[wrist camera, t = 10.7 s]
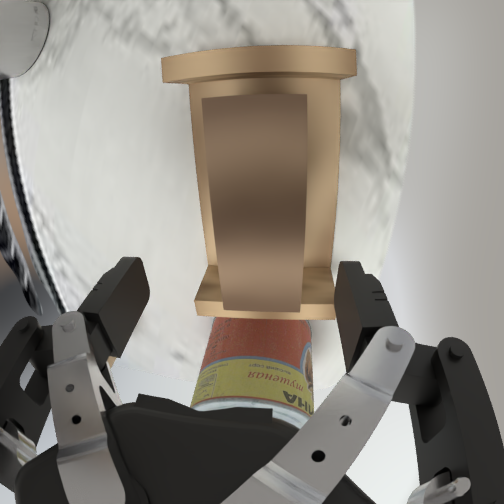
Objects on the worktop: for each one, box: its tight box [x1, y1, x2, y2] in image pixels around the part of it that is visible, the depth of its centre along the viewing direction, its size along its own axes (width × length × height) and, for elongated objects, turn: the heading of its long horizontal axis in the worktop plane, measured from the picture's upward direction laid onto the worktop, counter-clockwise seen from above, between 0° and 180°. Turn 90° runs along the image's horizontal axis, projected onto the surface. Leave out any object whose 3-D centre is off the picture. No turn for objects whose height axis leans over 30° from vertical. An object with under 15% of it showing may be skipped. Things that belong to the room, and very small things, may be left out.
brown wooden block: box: [201, 94, 308, 313], centre depth 17 cm, size 13×5×4 cm, turn 3°
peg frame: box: [161, 45, 357, 320], centre depth 20 cm, size 11×19×6 cm, turn 3°
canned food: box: [190, 317, 314, 429], centre depth 27 cm, size 11×11×12 cm
